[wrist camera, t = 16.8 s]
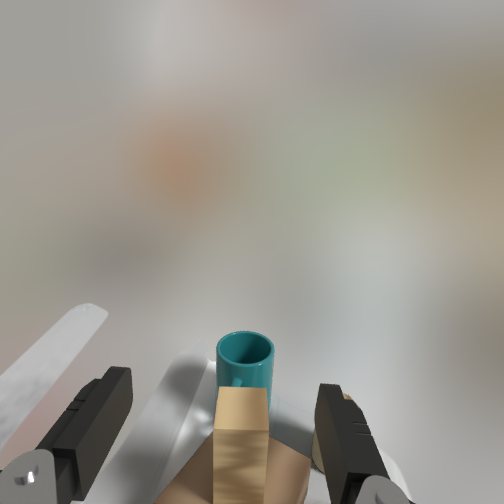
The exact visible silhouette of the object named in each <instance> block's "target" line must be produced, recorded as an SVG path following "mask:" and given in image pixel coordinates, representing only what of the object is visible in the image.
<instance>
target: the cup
mask: <svg viewBox="0 0 504 504" xmlns="http://www.w3.org/2000/svg"><path fill="white" fill-rule="evenodd" d="M273 363H274V345H273V343H272V342H271V341H270V340H269V339H268V338H267V337H265V336H263V335H262V334H259V333H256V332H250V331H238V332H234V333H230V334H228V335H226V336H224V337H223V338H221V340H220V341H219V342H218V344H217V347H216V406H217V399H218V392H219V387H251V388H266V389H267V404H268V411H269V408H270V403H271V390H272V376H273Z"/></svg>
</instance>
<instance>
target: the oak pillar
mask: <svg viewBox="0 0 504 504" xmlns="http://www.w3.org/2000/svg"><path fill="white" fill-rule="evenodd" d="M268 440H269V419H268V404H267V389H266V388H251V387H219V392H218V399H217V407H216V414H215V421H214V428H213V504H263V503H264V490H265V478H266V465H267V453H268Z"/></svg>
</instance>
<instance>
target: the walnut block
mask: <svg viewBox="0 0 504 504" xmlns="http://www.w3.org/2000/svg"><path fill="white" fill-rule="evenodd" d="M311 461H312V459H310V458H308V457H306V456H304V455H302V454H301V453H299V452H297V451H295V450H293V449H292V448H290V447H288V446H286V445H284V444H282V443H281V442H279V441H277V440H275V439H273V438H272V437H270V436H269V440H268V453H267V465H266V478H265V490H264V503H263V504H303V503H304V500H305V498H306V495H307V490H308V482H309V475H310V468H311ZM153 504H213V432H212V433H211V434H210V435H209V436H208V438H207V439H206V440H205V441H204V443H203V444H202V445H201V446H200V447H199V449H198V450H197V451H196V452H195V453H194V455H193V456H192V457H191V458H190V460H189V461H188V462H187V463H186V464H185V466H184V467H183V468H182V469H181V470H180V472H179V473H178V474H177V475H176V477H175V478H174V479H173V480H172V481H171V483H170V484H169V485H168V486H167V487H166V489H165V490H164V491H163V492H162V494H161V495H160V496H159V497H158V498H157V500H156V501H155V502H154V503H153Z"/></svg>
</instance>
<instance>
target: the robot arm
mask: <svg viewBox="0 0 504 504" xmlns="http://www.w3.org/2000/svg"><path fill="white" fill-rule="evenodd" d="M132 401H133V390H132V376H131V369H130V368H127V367H114V366H111V367H110V368H109V369H108V370H107V372H106V373H105V374H104V376H103V377H102V379H94V380H93V381H91V382H90V383H88V384H87V385H86V386H84V387H83V388H82V389H81V390H80V392H79V393H78V394H77V396H76V397H75V398H74V400H73V401H72V402H71V403H70V405H69V406H68V407H67V408H66V411H64V412H63V414H62V415H61V417H59V419H58V420H57V421H56V423H55V424H54V425H53V427H52V428H51V429H50V430H49V432H48V433H47V434H46V436H45V437H44V438H43V440H42V441H41V442H40V443H39V445H38V446H37V447H36V448H35V449H34V450H32V451H29V452H26V453H24V454H22V455H20V456H19V457H17V458H16V459H14V460H13V461H12V462H11V463H9V464H8V466H6V467H5V468H4V469H3V470H0V504H70V503H71V501H72V500H74V501H84V500H85V498H86V496H87V494H88V492H89V490H90V488H91V486H92V484H93V482H94V480H95V478H96V476H97V474H98V472H99V470H100V468H101V466H102V465H103V463H104V460H105V459H106V457H107V455H108V453H109V451H110V449H111V447H112V445H113V443H114V441H115V439H116V437H117V435H118V433H119V431H120V429H121V427H122V426H123V424H124V422H125V420H126V418H127V416H128V414H129V412H130V409H131V406H132ZM315 429H316V434H317V438H318V443H319V448H320V453H321V457H322V462H323V467H324V472H325V477H326V481H327V486H328V491H329V496H330V500H331V504H415V503H413V502H412V501H410V500H409V499H407V497H406V495H405V494H404V492H403V491H402V490H401V489H400V488H399V487H398V486H397V485H396V484H395V483H394V482H392V481H391V480H390V477H389V475H388V473H387V471H386V468H385V466H384V463H383V461H382V458H381V456H380V454H379V451H378V449H377V446H376V444H375V441H374V439H373V436H371V432H370V429H369V427H368V425H367V422H366V420H365V417H364V415H363V412H362V410H361V409H360V408H359V407H358V405H357V404H356V403H355V402H354V401H353V400H352V399H344V396H343V393H342V390H341V388H340V386H339V385H335V384H320V387H319V392H318V397H317V403H316V408H315Z"/></svg>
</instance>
